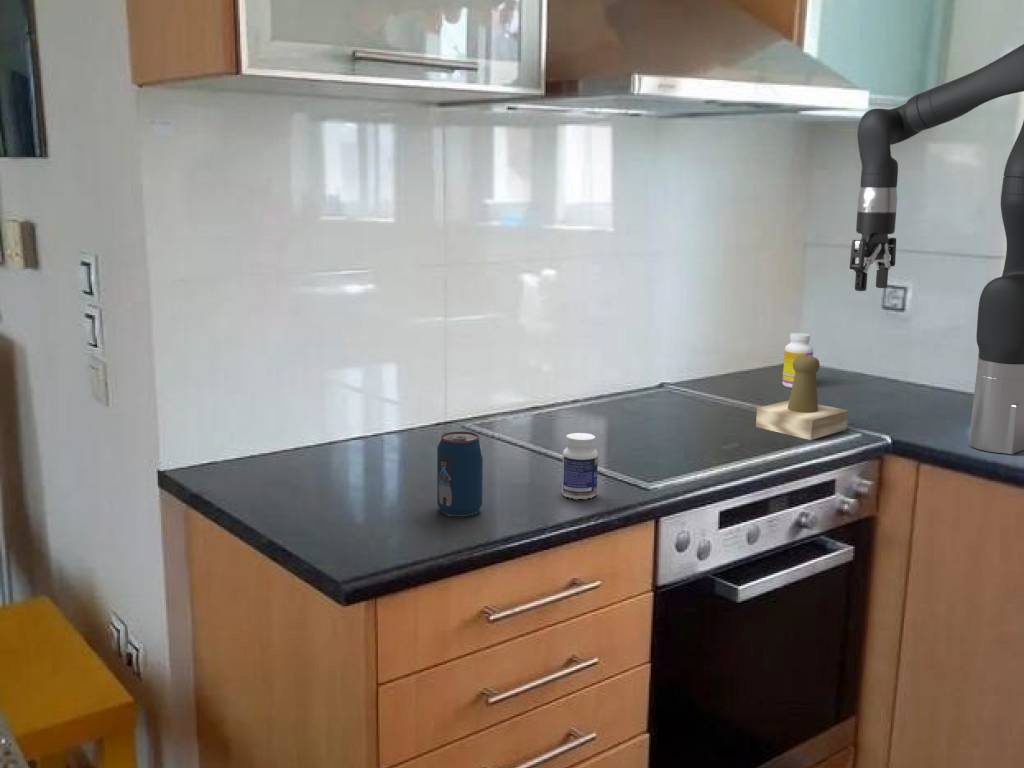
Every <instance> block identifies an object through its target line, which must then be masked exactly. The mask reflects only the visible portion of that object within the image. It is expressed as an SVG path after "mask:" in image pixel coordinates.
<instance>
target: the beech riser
mask: <svg viewBox="0 0 1024 768" xmlns="http://www.w3.org/2000/svg"><path fill="white" fill-rule="evenodd" d="M788 404H789V399H788V400H784V401H780V402H776V403H773V404H768V405H763V406H759V407H757V408H756V418H755V419H756V421H755V427H756V428H758V429H763V430H767V431H771V432H777V433H780V434H784V435H788V436H791V437H792V436H793V437H797V438H801V439H804V440H805V439H806V440H809V441H812V440H816V439H819V438H822V437H826V436H830V435H832V434H833V435H834V434H836V433H839V432H844V431H847V428H848V421H849V420H848V419H849V410H848V409H843V408H839V407H838V408H837V407H832V406H828V405H824V404H823V405H822V404H819V403H818V411H817V412H813V413H801V412H794V411H791V410H789V409H788Z"/></svg>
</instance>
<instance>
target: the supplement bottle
mask: <svg viewBox="0 0 1024 768" xmlns="http://www.w3.org/2000/svg"><path fill="white" fill-rule="evenodd" d="M789 334H790V335H789V340H790V343H788V344H786V345H785V347H784V356H783V357H784V359H783V370H782V385H783V386H784V387H786V388H790V389H792V385H793V380H794V375H795V371H794V369H793V361H794V359H795V358H796V357H798V356H812V357H814V347H813V345H811V344H810V343H809V342H810V340H811V334H810V333H805V332H804V333H803V332H791V333H789Z"/></svg>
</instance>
